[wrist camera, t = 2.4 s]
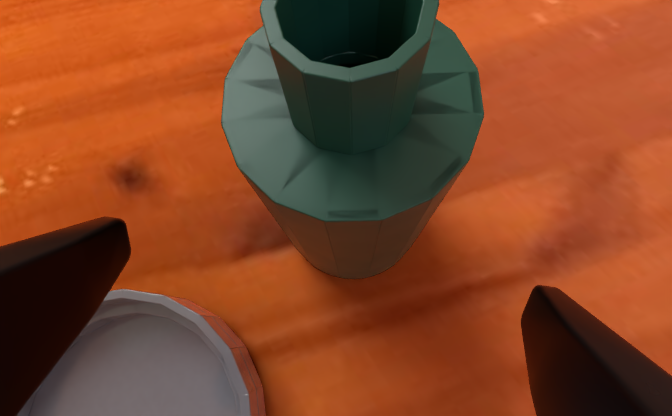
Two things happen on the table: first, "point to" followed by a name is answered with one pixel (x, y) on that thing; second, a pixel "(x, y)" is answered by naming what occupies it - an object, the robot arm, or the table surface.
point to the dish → (151, 364)
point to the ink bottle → (352, 124)
